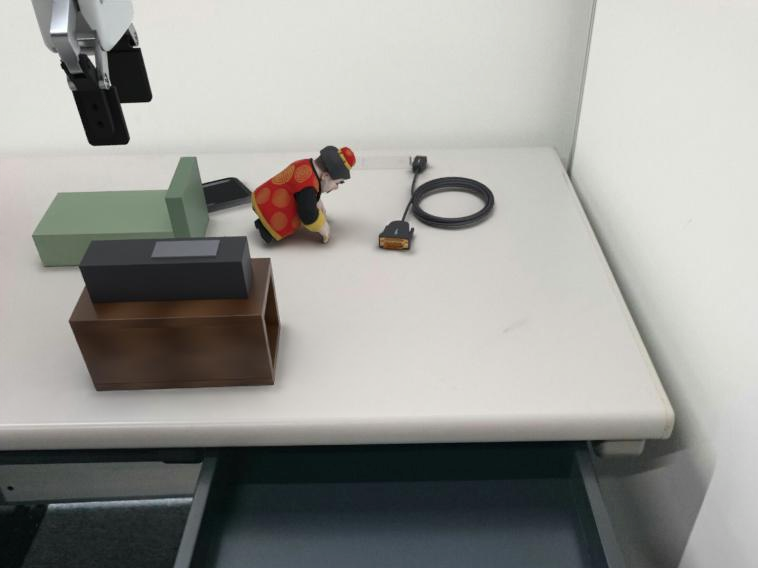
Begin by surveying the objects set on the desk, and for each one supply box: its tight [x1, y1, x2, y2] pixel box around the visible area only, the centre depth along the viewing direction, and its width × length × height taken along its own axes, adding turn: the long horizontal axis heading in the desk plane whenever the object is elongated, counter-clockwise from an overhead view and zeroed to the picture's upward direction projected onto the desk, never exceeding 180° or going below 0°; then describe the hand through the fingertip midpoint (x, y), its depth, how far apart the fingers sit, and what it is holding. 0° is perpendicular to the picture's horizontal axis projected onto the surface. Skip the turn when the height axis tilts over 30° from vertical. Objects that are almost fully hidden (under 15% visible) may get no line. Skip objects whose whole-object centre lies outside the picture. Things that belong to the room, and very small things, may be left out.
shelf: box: [68, 257, 282, 392], centre depth 74 cm, size 18×11×8 cm, turn 93°
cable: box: [378, 154, 496, 250], centre depth 100 cm, size 14×28×2 cm, turn 169°
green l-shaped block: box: [31, 156, 210, 267], centre depth 92 cm, size 19×12×8 cm, turn 93°
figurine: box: [250, 145, 357, 245], centre depth 93 cm, size 10×10×15 cm
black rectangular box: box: [78, 235, 253, 303], centre depth 70 cm, size 15×5×4 cm, turn 93°
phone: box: [202, 176, 253, 214], centre depth 102 cm, size 8×1×15 cm
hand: (123, 121), depth 61 cm, fingers open, 9 cm apart
